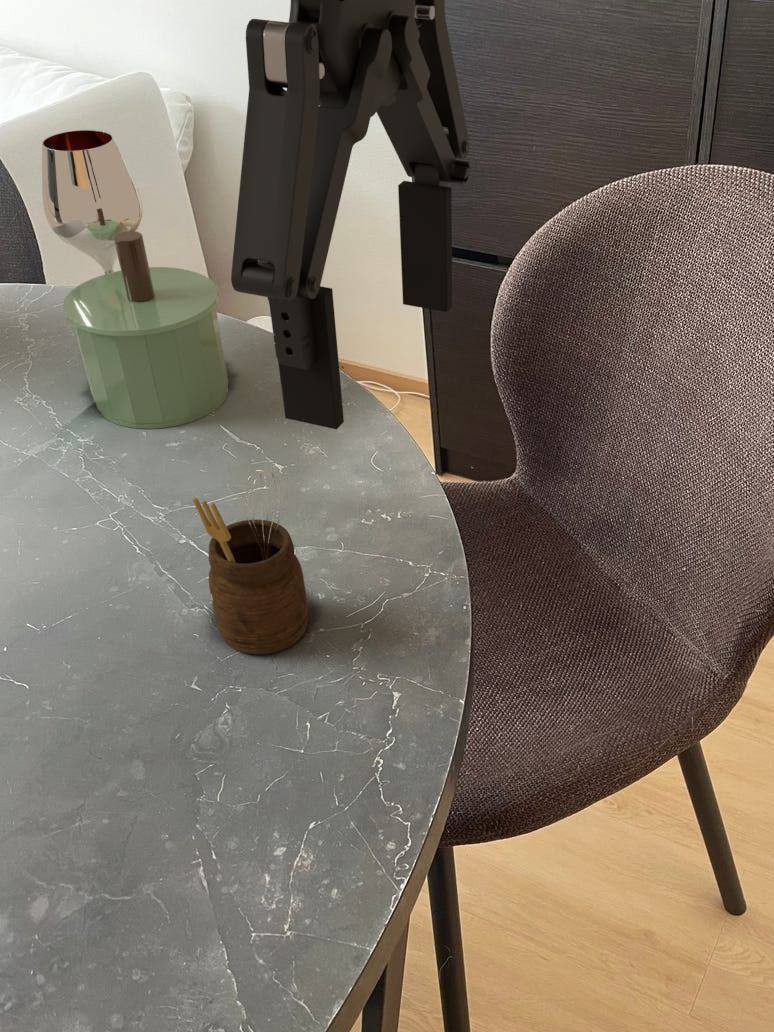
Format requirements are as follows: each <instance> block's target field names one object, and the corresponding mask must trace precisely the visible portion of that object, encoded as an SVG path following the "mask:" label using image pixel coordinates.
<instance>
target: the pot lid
mask: <svg viewBox="0 0 774 1032" xmlns="http://www.w3.org/2000/svg"><path fill="white" fill-rule="evenodd" d="M114 242H115V246H116V251H117V255H118V257H117V259H118V263H119V268H120V270H117V271H114V272H112V273H108V274H105V273H104V274H102V275H99V276H96V277H93V278H91V279H89V280H87V281H84V282H82V283H81V284H79V285H77V286H75V287H74V288H73V289H71V290H70V292H68V293H67V295H66V296H65V298H64V300H63V302H62V310H63V315H64V317H65V319H66V320H67V321H68V322H69V323H70V324H71V325H72V326H73V325H74V326H76V327H77V328H80V329H82V330H85V331H88V332H91V333H96V334H101V335H108V336H141V335H150V334H156V333H162V332H166V331H171V330H174V329H178V328H181V327H184V326H186V325H189V324H191V323H194V322H196V321H198V320H199V319H201V318H203V317H204V316H206V315H207V314H209V313H210V312H211V311H212V310H213V309H214V308H215V306H217V305H218V302H219V298H220V297H219V296H220V295H219V290H218V286H217V284H216V283H215V282H214V281H213V280H212V279H211V278H210V277H208V276H206V275H204V274H202V273H199V272H196V271H193V270H189V269H184V268H178V267H169V266H168V267H167V266H166V267H165V266H150V265H149V260H148V255H147V251H146V246H145V241H144V237H143V234H142V233H141V232H139V231H137V232H135V231H126V232H121V233H118V234H116V235H115V236H114ZM74 326H73V327H74Z"/></svg>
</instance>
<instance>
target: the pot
mask: <svg viewBox="0 0 774 1032" xmlns="http://www.w3.org/2000/svg"><path fill="white" fill-rule="evenodd" d="M216 306H217V305H216ZM216 306H215V308H214V309H213V310H212V311H211V312H210V313H209V314H207V315H206V316H204V317H203V318H201V319H199V320H198V321H196V322H194V323H191V324H189V325H186V326H184V327H181V328H178V329H174V330H171V331H166V332H162V333H156V334H150V335H141V336H108V335H101V334H96V333H91V332H88V331H85V330H82V329H80V328H77V327H76V326H74V325H72V327H73V330H74V334H75V337H76V341H77V344H78V348H79V352H80V356H81V359H82V363H83V367H84V371H85V375H86V378H87V383H88V386H89V390H90V394H91V396H92V398H93V401H94V405H95V408H96V410H97V412H98V413H99V415H100V416H101V417H102V418H104V419H105V420H106V421H108V422H111V423H113V424H116V425H119V426H122V427H126V428H133V429H149V430H152V429H164V428H172V427H177V426H181V425H185V424H188V423H193V422H195V421H198V420H200V419H203V418H205V417H206V416H208V415H210V414H212V413H214V411H216V410H217V409H218V408H219V407H221V406H222V405H223V404H224V402H226V401H225V400H226V399H227V397H228V394H229V377H228V372H227V366H226V360H225V353H224V348H223V342H222V335H221V331H220V325H219V318H218V312H217V307H216Z"/></svg>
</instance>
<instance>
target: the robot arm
mask: <svg viewBox="0 0 774 1032" xmlns="http://www.w3.org/2000/svg"><path fill="white" fill-rule="evenodd" d="M445 1H446V0H290V5H289V6H290V7H289V17H288V22H287V21H278V20H269V19H261V18H252V19H250V20H249V21H248V23H247V25H246V29H245V49H246V60H247V61H246V62H247V63H246V64H247V75H248V76H247V77H248V97H247V98H248V99H247V109H246V117H245V118H246V119H245V126H244V127H245V128H244V129H245V130H244V139H243V150H242V161H241V169H240V171H241V172H240V179H239V189H238V199H237V200H238V201H237V202H238V203H237V211H236V222H235V223H236V224H235V231H234V232H235V233H234V240H233V253H232V264H231V272H230V273H231V274H230V281H231V285H232V288H233V290H234V291H235V292H237V293H242V294H248V295H254V296H259V297H264V298H267V301H268V305H269V312H270V313H269V314H270V321H271V327H272V334H273V342H274V343H275V344H274V351H275V357H276V360H277V364H278V370H279V371H278V372H279V378H280V386H281V387H280V388H281V394H282V403H283V409H284V410H283V411H284V418H285V419H287V420H291V421H296V422H300V423H305V424H308V425H309V424H310V425H314V426H319V427H323V428H328V429H333V430H338V429H339V428H340V426H342V424H343V423H344V422H345V419H344V418H345V417H344V408H343V396H342V385H341V384H342V383H341V375H340V374H341V373H340V361H339V353H338V352H339V351H338V337H337V328H336V327H337V326H336V317H335V303H334V294H333V287H326V286H321V283H322V280H323V276H324V272H325V267H326V262H327V258H328V254H329V250H330V245H331V242H332V238H333V237H332V236H333V233H334V228H335V225H336V220H337V215H338V211H339V208H340V207H339V206H340V203H341V198H342V194H343V190H344V186H345V182H346V176H347V172H348V168H349V163H350V160H351V155H352V152H353V151H352V150H353V148H354V146H355V144H357V143H358V142H361V141H362V140H363V139H364V138H365V137H366V135H367V133H368V131H369V126H370V122H371V118H372V117H374V116H375V114H377V116H378V119H379V120H380V122H381V124H382V127H383V128H384V130H385V133H386V135H387V136H388V139H389V141H390V143H391V145H392V147H393V150H394V151H395V153H396V156H397V157H398V159H399V162H400V163H401V165H402V167H403V170H404V171H405V173H406V175H407V177H409V178H414V181H409V180H402V181H401V182H400V183H398V184H397V191H398V212H399V213H398V214H399V237H400V238H399V239H400V262H401V263H400V264H401V284H402V285H401V288H402V289H401V290H402V291H401V293H402V305H404V306H410V307H415V308H422V309H427V310H432V311H437V312H443V313H448V312H449V311H450V310H451V309H452V308H453V233H452V232H453V231H452V230H453V229H452V227H453V226H452V225H453V224H452V221H453V220H452V219H453V218H452V217H453V216H452V212H453V211H452V210H453V209H452V187H451V186H449V183H450V184H457V185H465V186H466V185H467V184H468V182H469V179H470V175H471V164H470V161H468V160H465V159H466V158H467V157H468V154H469V153H470V139H469V133H468V128H467V122H466V118H465V113H464V107H463V102H462V97H461V92H460V87H459V82H458V77H457V72H456V71H457V70H456V67H455V61H454V56H453V51H452V45H451V39H450V36H449V31H448V26H447V20H446V5H445V4H446V3H445ZM444 128H446V130H447V131H445V130H444Z"/></svg>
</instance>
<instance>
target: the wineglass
mask: <svg viewBox="0 0 774 1032" xmlns="http://www.w3.org/2000/svg"><path fill="white" fill-rule="evenodd" d="M41 191H42V193H41V195H42V206H43V212H44V216H45V218H46V221H47V223H48V224H49V226H50V228H51V229H52V231H53V232H54V233H55V234H56V235H57V236H58V237H59V239H61V240H62V241H63V242H65V243H66V244H67V245H69V246H71V247H72V248H73V249H75V250H77V251H78V252H81V253H82V254H84V255H85V256H87V257H89V258H91V259H92V260H94V261H95V262H96V263H97V264H99V266H100V267H101V268H102V269H103V272H104V275H105V274H108V273H112V272H115V271H114V265H115V263H116V260H117V259H118V255H117V251H116V246H115V242H114V236H115V235H116V234H118V233H121V232H126V231H135V232H139V229H140V226H141V224H142V219H143V212H144V211H143V203H142V199H141V195H140V193H139V189H138V187H137V185H136V182H135V180H134V178H133V176H132V174H131V171H130V169H129V167H128V165H127V163H126V161H125V159H124V156H123V155H122V152H121V150H120V148H119V146H118V144H117V143H116V140H115V138H114V136H113V135H112V134H111V133H110V132H106V131H103V130H95V129H80V130H79V129H78V130H77V129H76V130H69V131H64V132H59V133H55V134H53V135H50V136H48V137H46V138H44V139H43V140H42V142H41Z"/></svg>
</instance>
